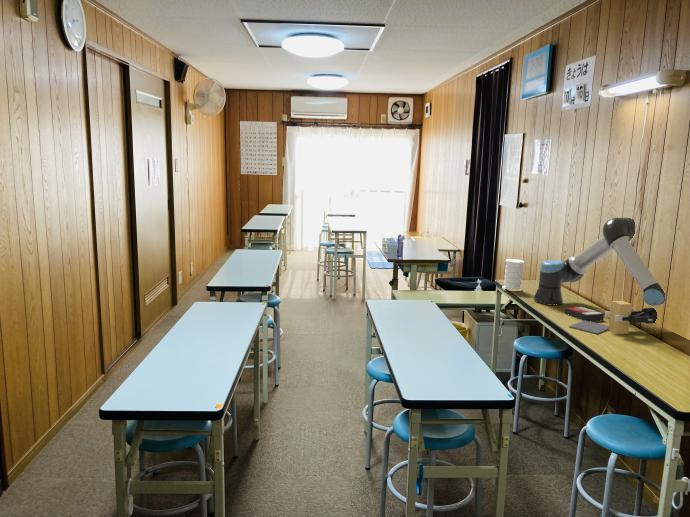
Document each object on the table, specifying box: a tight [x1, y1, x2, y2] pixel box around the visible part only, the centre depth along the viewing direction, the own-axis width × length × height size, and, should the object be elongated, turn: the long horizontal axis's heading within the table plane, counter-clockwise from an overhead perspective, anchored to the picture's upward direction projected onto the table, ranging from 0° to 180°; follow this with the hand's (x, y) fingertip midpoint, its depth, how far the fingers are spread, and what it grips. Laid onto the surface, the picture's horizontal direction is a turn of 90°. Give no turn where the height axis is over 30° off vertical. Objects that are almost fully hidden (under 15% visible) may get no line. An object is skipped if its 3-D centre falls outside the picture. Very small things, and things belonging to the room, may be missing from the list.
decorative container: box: [501, 258, 525, 291], centre depth 327 cm, size 12×12×18 cm
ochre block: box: [607, 300, 633, 335], centre depth 249 cm, size 6×6×14 cm
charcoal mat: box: [569, 320, 609, 335], centre depth 255 cm, size 17×13×1 cm
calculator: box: [564, 306, 605, 322], centre depth 273 cm, size 11×4×15 cm
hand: (610, 316), depth 248 cm, fingers closed on ochre block, 6 cm apart
